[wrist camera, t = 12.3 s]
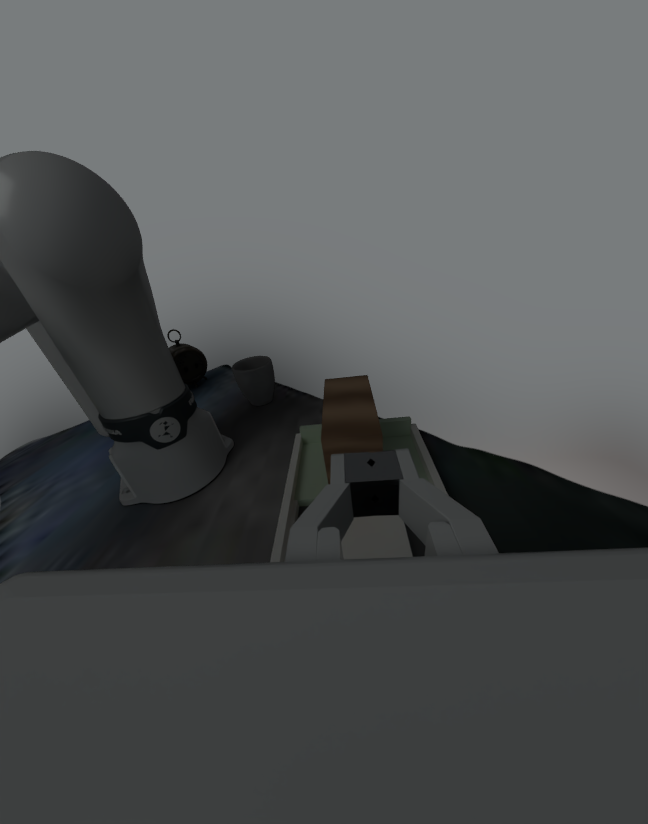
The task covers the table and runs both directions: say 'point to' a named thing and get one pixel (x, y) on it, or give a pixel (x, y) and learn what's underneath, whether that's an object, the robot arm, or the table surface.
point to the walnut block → (349, 419)
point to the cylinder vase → (65, 374)
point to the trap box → (364, 532)
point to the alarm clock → (188, 362)
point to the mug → (255, 379)
